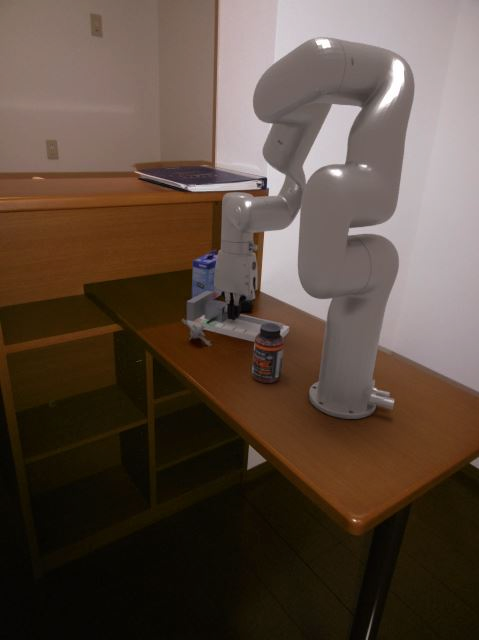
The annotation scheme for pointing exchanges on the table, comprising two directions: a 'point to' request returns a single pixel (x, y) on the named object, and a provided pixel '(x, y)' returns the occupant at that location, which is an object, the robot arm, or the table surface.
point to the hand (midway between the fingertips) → (233, 317)
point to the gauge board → (237, 328)
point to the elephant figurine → (196, 332)
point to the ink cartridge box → (204, 274)
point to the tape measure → (246, 304)
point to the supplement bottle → (268, 354)
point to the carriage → (216, 311)
